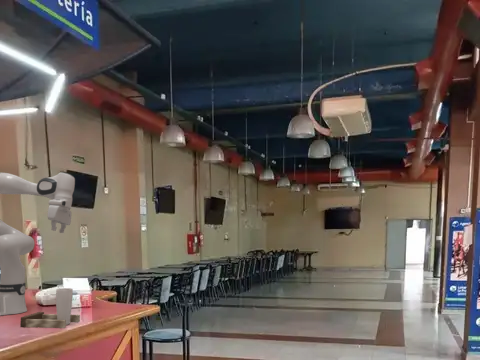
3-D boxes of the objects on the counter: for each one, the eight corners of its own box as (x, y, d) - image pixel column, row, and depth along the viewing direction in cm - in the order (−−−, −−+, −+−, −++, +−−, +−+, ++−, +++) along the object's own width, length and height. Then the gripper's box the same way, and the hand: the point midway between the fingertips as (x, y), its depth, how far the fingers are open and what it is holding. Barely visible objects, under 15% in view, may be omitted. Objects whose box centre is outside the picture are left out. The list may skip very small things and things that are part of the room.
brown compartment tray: (20, 327, 192) (20, 317, 192) (38, 320, 204) (38, 311, 205) (63, 328, 188) (64, 318, 189) (79, 321, 201) (80, 312, 202)
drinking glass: (66, 326, 191) (67, 290, 193) (51, 326, 193) (52, 290, 194) (74, 323, 198) (75, 288, 200) (60, 322, 199) (61, 288, 201)
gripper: (64, 207, 237) (59, 233, 234) (47, 200, 218) (42, 228, 214) (76, 208, 237) (71, 234, 234) (60, 200, 217) (55, 229, 214)
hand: (57, 231), depth 224 cm, fingers open, 8 cm apart
